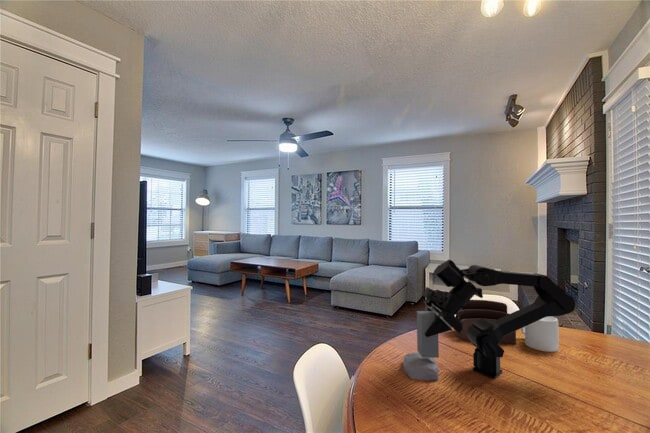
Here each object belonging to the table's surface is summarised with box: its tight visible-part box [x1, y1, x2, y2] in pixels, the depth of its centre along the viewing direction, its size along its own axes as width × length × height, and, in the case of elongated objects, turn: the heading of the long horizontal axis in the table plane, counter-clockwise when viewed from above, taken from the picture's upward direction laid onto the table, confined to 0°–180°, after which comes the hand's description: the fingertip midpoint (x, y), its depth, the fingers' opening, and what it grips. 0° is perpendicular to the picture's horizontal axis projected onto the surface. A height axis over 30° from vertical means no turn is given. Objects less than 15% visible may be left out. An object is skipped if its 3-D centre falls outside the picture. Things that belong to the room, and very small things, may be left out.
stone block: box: [402, 352, 439, 381], centre depth 91 cm, size 12×5×10 cm
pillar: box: [416, 310, 440, 359], centre depth 91 cm, size 5×5×12 cm
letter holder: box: [455, 299, 517, 345], centre depth 118 cm, size 10×20×14 cm, turn 76°
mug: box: [520, 316, 560, 353], centre depth 111 cm, size 14×10×11 cm
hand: (422, 332), depth 91 cm, fingers closed on pillar, 5 cm apart
